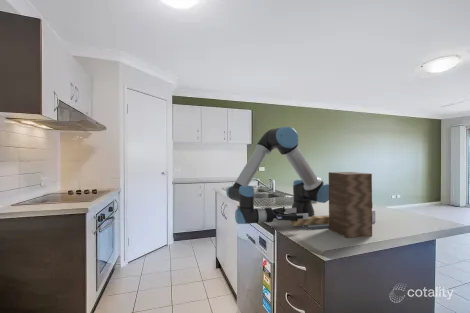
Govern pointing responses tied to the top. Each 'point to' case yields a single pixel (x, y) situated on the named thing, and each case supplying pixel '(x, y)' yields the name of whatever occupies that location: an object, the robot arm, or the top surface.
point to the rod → (311, 221)
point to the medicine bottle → (373, 216)
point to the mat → (317, 226)
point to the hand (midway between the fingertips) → (301, 213)
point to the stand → (350, 203)
